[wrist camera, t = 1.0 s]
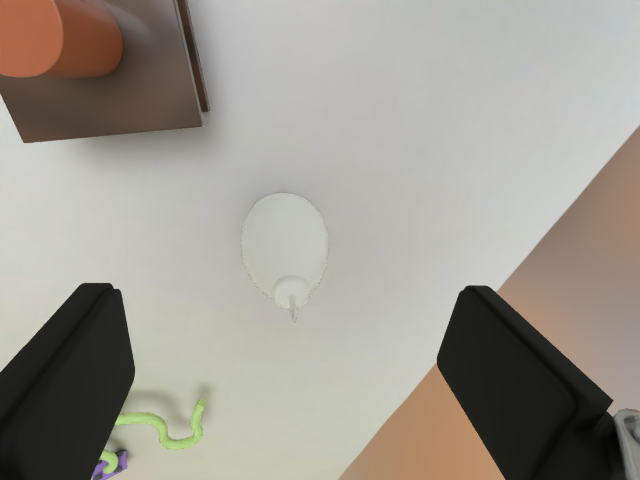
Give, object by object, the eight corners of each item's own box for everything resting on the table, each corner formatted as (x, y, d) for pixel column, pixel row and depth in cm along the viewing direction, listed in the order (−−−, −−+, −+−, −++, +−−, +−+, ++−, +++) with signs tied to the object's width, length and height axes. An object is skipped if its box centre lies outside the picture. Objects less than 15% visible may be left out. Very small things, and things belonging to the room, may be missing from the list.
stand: (16, -43, 24) (-89, -94, 17) (183, -49, 25) (151, -99, 18) (81, 128, 29) (23, 143, 22) (216, 115, 31) (202, 126, 23)
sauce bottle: (240, 239, 36) (220, 363, 20) (252, 171, 33) (240, 257, 17) (307, 250, 38) (337, 372, 22) (324, 187, 35) (373, 277, 19)
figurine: (229, 392, 47) (224, 430, 42) (99, 480, 51) (82, 523, 46) (119, 318, 39) (97, 353, 34) (-25, 429, 43) (-63, 476, 38)
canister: (26, -22, 19) (-92, -72, 12) (118, -5, 20) (50, -44, 13) (45, 72, 21) (-50, 68, 15) (127, 83, 22) (72, 84, 15)
